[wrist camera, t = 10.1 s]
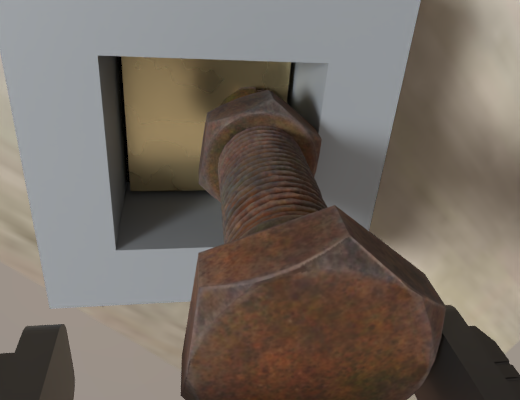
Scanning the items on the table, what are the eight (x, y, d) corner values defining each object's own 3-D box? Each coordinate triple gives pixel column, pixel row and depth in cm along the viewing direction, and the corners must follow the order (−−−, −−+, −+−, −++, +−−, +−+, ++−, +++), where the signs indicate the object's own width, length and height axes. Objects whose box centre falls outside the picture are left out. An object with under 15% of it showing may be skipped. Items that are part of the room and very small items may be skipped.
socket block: (365, -38, 22) (425, -23, 16) (322, 225, 28) (355, 292, 23) (30, -62, 19) (-20, -53, 14) (73, 231, 26) (49, 308, 21)
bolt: (327, 114, 23) (497, 352, 10) (259, 188, 25) (328, 478, 11) (233, 32, 21) (295, 202, 8) (164, 120, 22) (117, 385, 9)
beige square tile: (286, 36, 23) (293, 43, 21) (272, 176, 26) (277, 189, 25) (122, 28, 21) (119, 35, 20) (132, 177, 25) (130, 191, 24)
